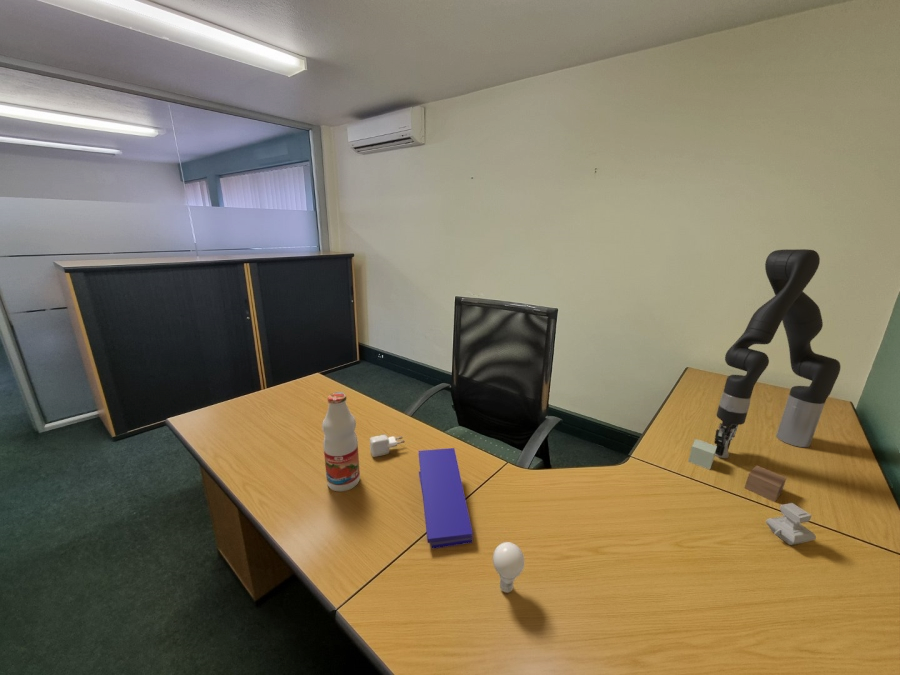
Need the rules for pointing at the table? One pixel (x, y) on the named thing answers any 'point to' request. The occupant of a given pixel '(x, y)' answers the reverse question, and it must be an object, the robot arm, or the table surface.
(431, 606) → the table surface
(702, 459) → the sage block
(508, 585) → the lightbulb
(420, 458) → the purple rectangular block
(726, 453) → the rook chess piece
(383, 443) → the power adapter
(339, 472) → the fruit juice
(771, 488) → the walnut block
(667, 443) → the table surface
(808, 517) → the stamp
